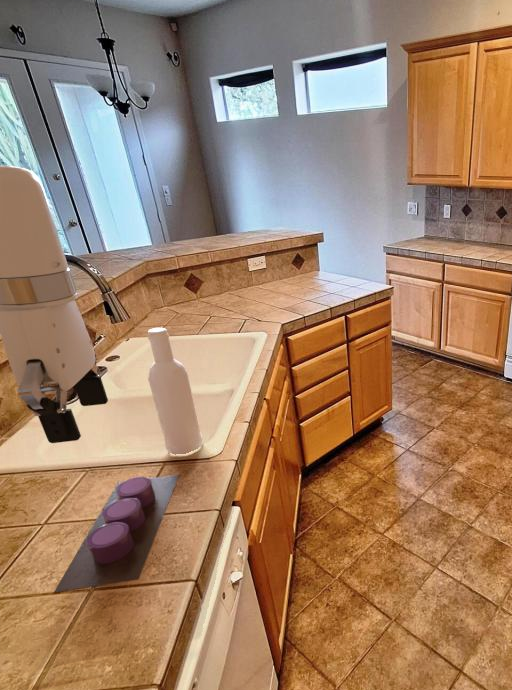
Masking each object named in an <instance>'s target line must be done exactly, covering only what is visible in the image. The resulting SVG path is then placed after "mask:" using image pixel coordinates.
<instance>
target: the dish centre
mask: <svg viewBox="0 0 512 690" xmlns="http://www.w3.org/2000/svg"><path fill="white" fill-rule="evenodd" d="M103 518H104V521H105V523H106V524H109V523H114V522H122V523H125V524H127V525H128V527H129V530H130V533H131V532H133V531H135V530H136V529H138V528H139V527H140V526H142V524H143V523H144V522H145V515H144V511H143V508H142V505H141V502H140V500H138V499H136V498H125V499H121V500H118V501H116V502H114V503H112V504H110V505H109V506H108V507H106V509H105V510H104V511H103Z"/></svg>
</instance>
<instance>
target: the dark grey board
mask: <svg viewBox="0 0 512 690" xmlns="http://www.w3.org/2000/svg"><path fill="white" fill-rule="evenodd" d="M148 478H149V479H150V480H151V483H152V486H153V489H154V493H155V499H154V500H153V502H152V503H150V504H149V505H147V506H146V507H144V508H143V511H144V515H145V522H144V523H143V524H142V526H140V527H139V528H138V529H136V530H135V531H133V532H131V536H132V539H133V541H134V546H133V548H132V550H131V551H130V552H129V553H128V554H127V555H126V556H125V557H123V558H122V559H120V560H118V561H115V562H112V563H108V564H99V563H97V562H95V561H94V559H93V557H92V554H91V552H90V549H89V547H88V545H87V539H88V537H89V536H90V535H91V534H92V533H93V532H94V531H95V530H96V529H98V528H100V527H102V526H104V525H106V523H105V521H104V518H103V511H104V510H105V509H106V507H108V506H109V505H110V504H112V503H114V502H116V501H118V500H119V499H118V496H117V493H116V489H117V487H118V486H119V485H120V484H121V483H123V482H125V481H126V480H124V481H118V482H117V483H116V486H115V487H114V489H113V490H112V492H111V493H110V496H109V497H108V498H107V501H106V502H105V504H104V506H103V507H102V509H101V510H100V512H99V514H98V516H97V517H96V519H95V521H94V523H93V525H92V526H91V528H90V529H89V531H88V533H87V535H86V537H85V538H84V540H83V541H82V543H81V544H80V547H79V549H78V550H77V552H76V554H75V555H74V557H73V558H72V560H71V562H70V564H69V565H68V566H67V569H66V571H65V572H64V574H63V576H62V577H61V579H60V580H59V582H58V584H57V585H56V587H55V589H54V591H53V594H54V593H62V592H67V591H74V590H80V589H88V588H91V587H92V588H93V587H99V586H104V585H105V586H106V585H110V584H111V585H112V584H118V583H125V582H131V581H137V580H139V579H140V577H141V575H142V572H143V570H144V567H145V565H146V562H147V560H148V557H149V554H150V552H151V549H152V547H153V544H154V541H155V539H156V536H157V534H158V531H159V528H160V526H161V523H162V522H163V521H162V520H163V518H164V516H165V513H166V511H167V508H168V505H169V503H170V501H171V498H172V495H173V493H174V490H175V488H176V485H177V482H178V480H179V478H180V474H175V475H174V474H173V475H165V476H158V477H148Z"/></svg>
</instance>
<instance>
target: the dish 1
mask: <svg viewBox="0 0 512 690" xmlns="http://www.w3.org/2000/svg"><path fill="white" fill-rule="evenodd" d="M87 545H88V547H89V549H90V552H91V554H92V557H93V559H94V561H95V562H97V563H99V564H108V563H112V562H115V561H118V560H120V559H122V558H123V557H125V556H126V555H127V554H128V553H129V552H130V551H131V550H132V548H133V546H134V541H133V539H132V536H131V533H130V530H129V527H128V525H127V524H125V523H122V522H114V523H109V524H106V525H104V526H102V527H100V528H98V529H96V530H95V531H94V532H93V533H92V534H91V535H90V536H89V537H88V539H87Z"/></svg>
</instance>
